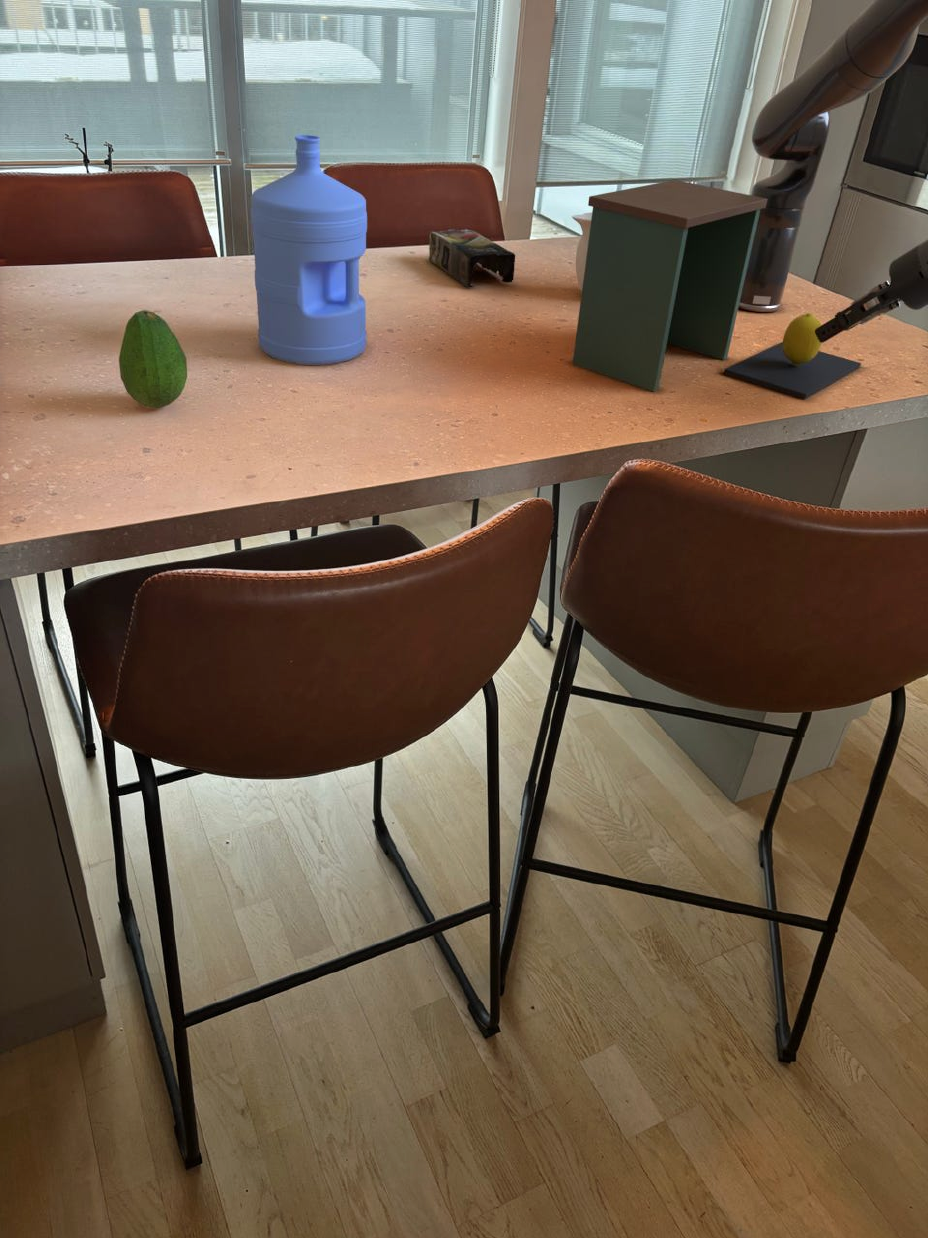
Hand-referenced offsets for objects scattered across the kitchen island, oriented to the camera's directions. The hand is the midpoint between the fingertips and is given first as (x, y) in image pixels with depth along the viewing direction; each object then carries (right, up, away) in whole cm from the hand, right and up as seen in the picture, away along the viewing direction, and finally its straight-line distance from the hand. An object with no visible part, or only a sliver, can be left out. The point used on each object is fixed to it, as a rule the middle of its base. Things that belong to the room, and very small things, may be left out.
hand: (830, 330), depth 138 cm
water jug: (-76, -2, +1) cm, 76 cm away
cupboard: (-25, -3, +6) cm, 25 cm away
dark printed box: (-52, +23, +40) cm, 70 cm away
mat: (-3, -4, +6) cm, 8 cm away
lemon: (-3, -4, +6) cm, 8 cm away
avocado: (-92, -15, -19) cm, 95 cm away
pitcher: (-28, +16, +33) cm, 46 cm away
